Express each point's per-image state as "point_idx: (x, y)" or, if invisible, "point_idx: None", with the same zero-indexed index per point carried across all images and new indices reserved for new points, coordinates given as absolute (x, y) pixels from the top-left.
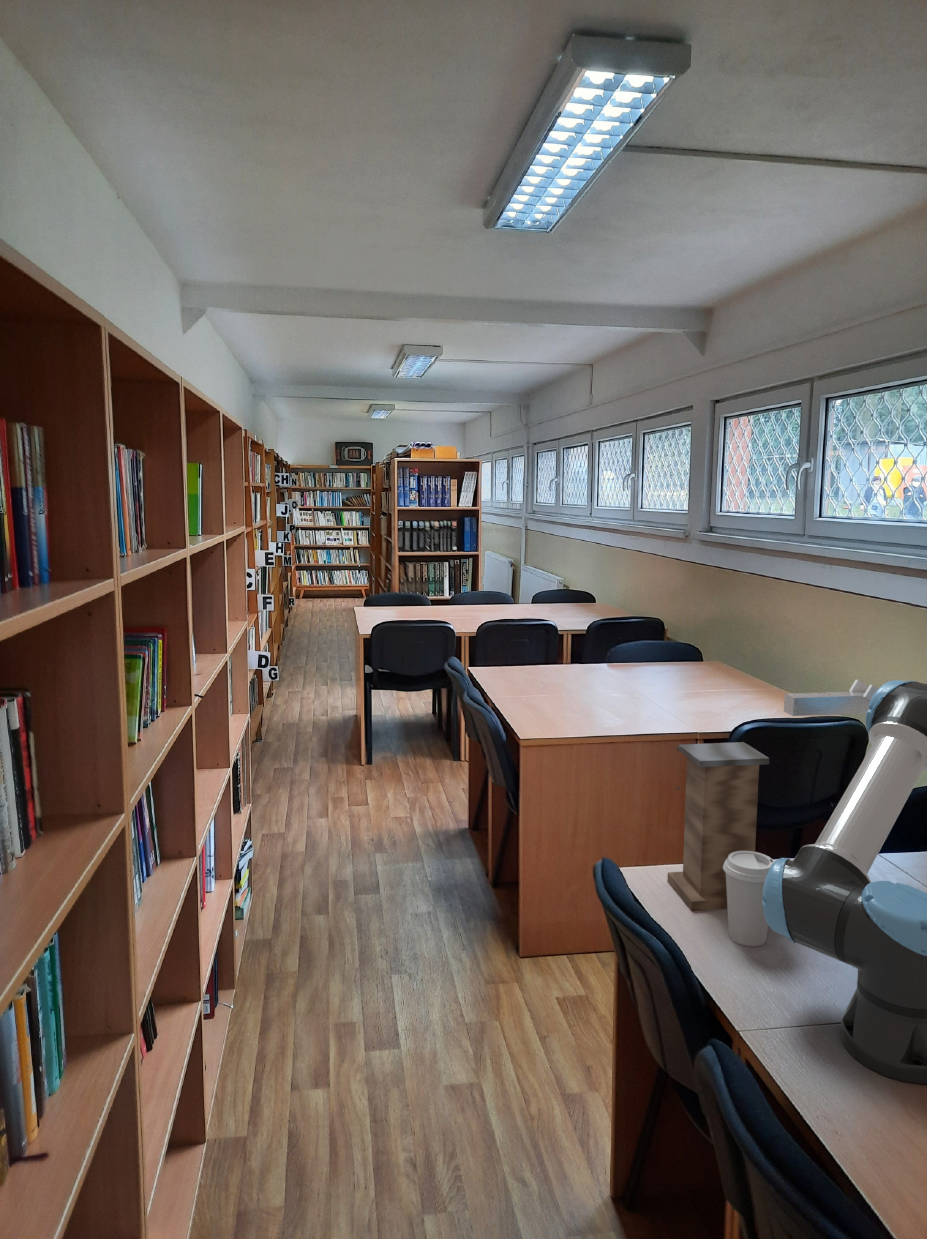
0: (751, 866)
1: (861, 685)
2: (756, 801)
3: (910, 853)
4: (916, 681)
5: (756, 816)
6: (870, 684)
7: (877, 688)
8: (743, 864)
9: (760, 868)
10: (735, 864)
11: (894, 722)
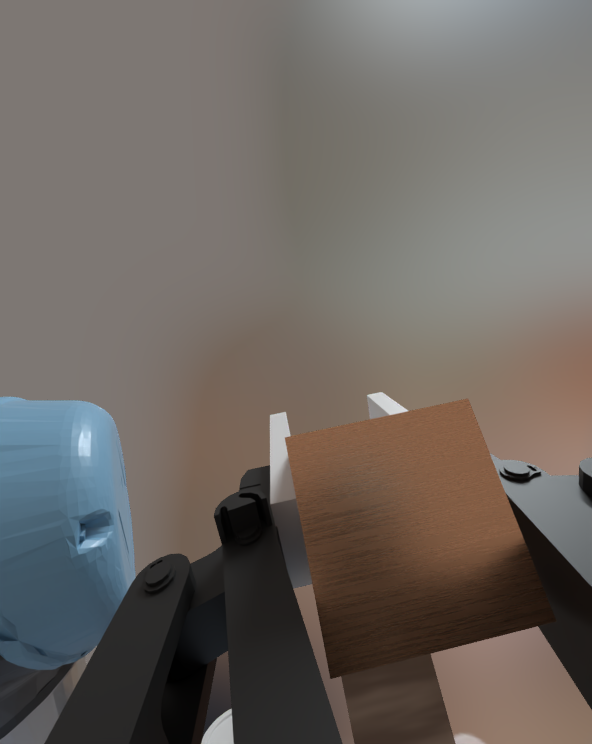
0: (220, 732)
1: (376, 415)
2: (342, 680)
3: None
4: (3, 397)
5: (351, 723)
6: (283, 412)
7: (270, 426)
8: (231, 722)
9: (204, 740)
10: (230, 709)
11: (115, 586)
